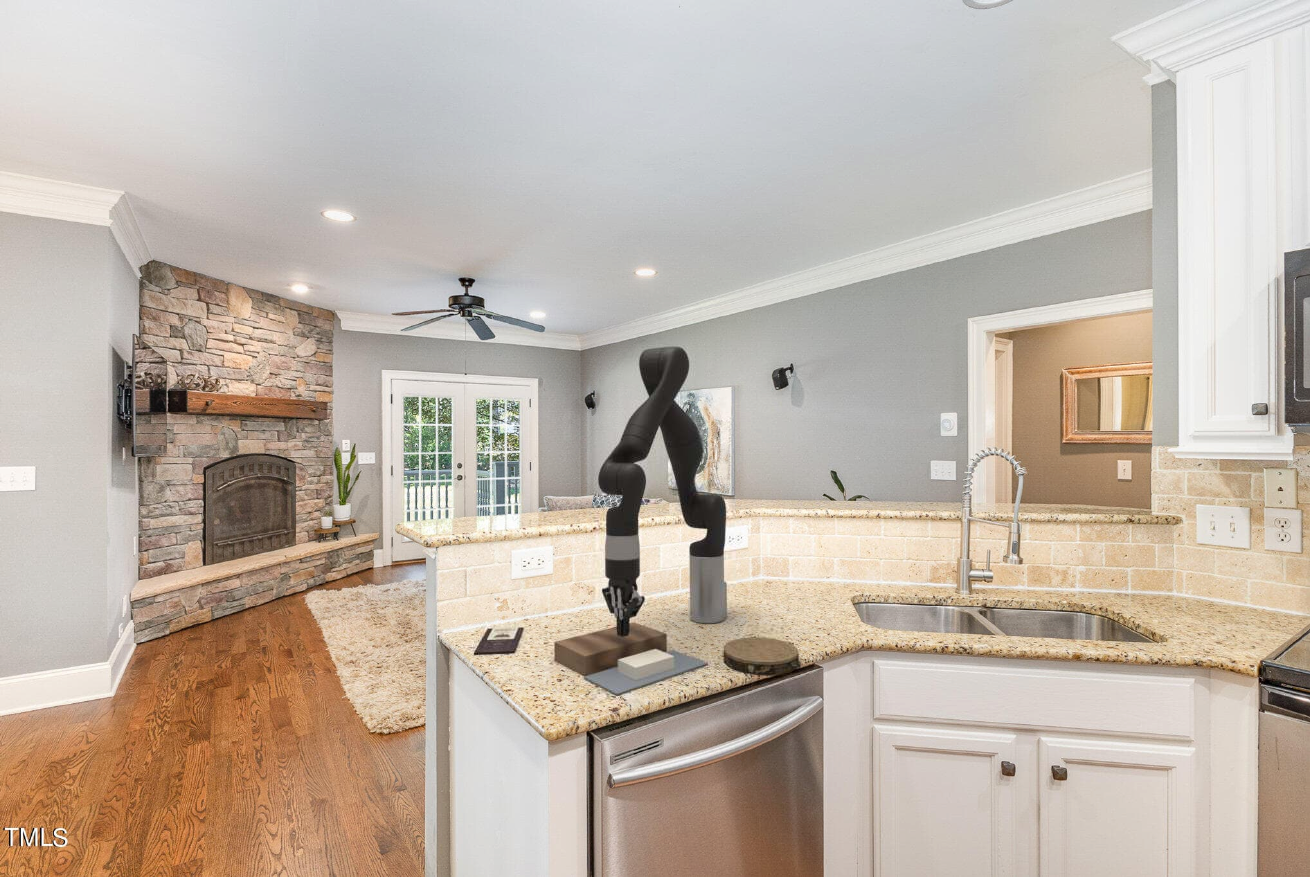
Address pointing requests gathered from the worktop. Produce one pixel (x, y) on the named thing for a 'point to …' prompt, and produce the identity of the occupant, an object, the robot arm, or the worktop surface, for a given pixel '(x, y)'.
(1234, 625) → the worktop surface
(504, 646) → the chocolate bar
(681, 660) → the mat
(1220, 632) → the worktop surface
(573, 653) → the board
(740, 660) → the brown round disc
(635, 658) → the tile
